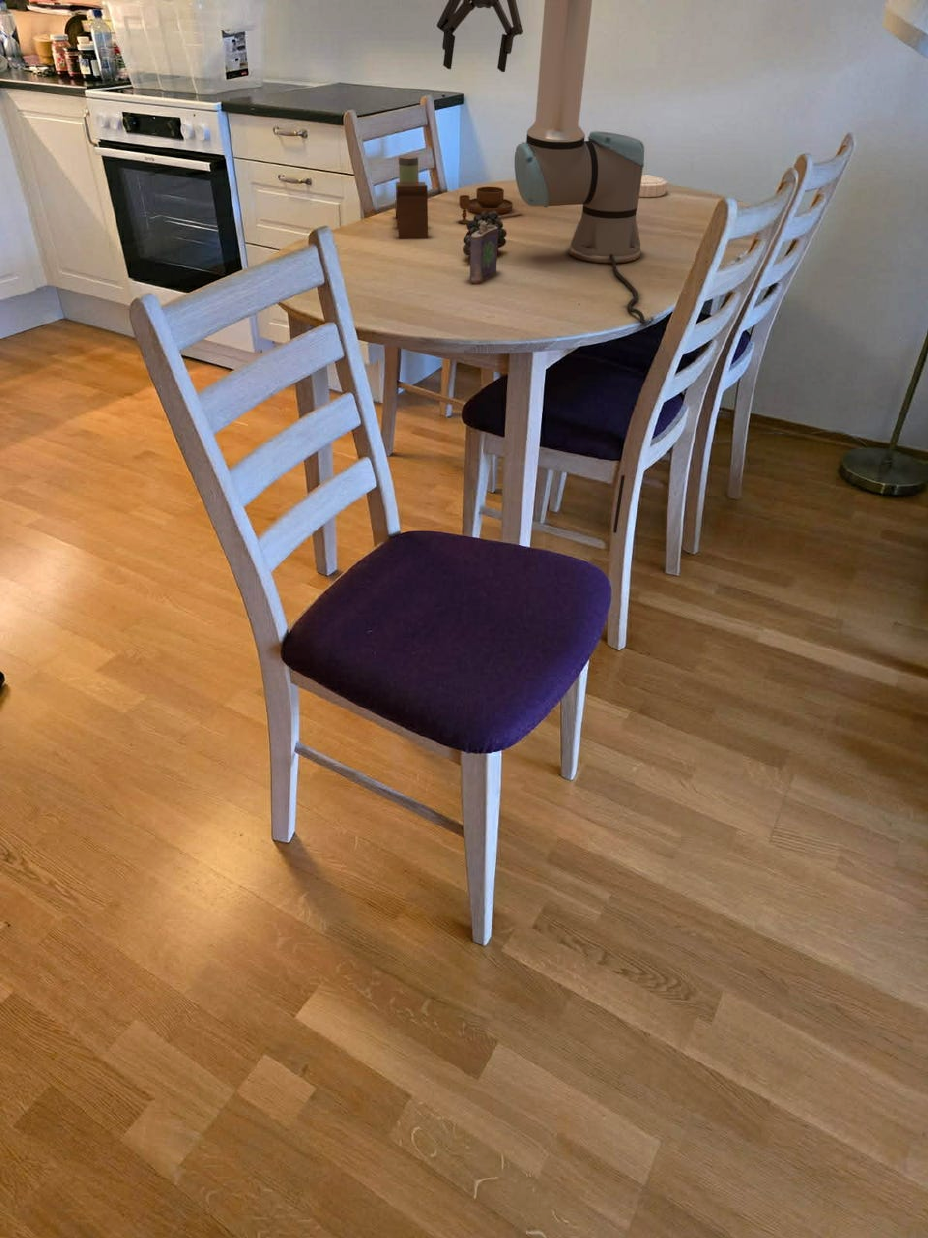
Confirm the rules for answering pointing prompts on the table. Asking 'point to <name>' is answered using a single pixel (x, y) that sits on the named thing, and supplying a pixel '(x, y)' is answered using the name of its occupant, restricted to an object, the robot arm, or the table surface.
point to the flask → (483, 253)
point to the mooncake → (652, 186)
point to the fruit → (474, 226)
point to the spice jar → (408, 168)
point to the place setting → (486, 202)
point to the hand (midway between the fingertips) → (473, 68)
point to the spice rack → (412, 209)
